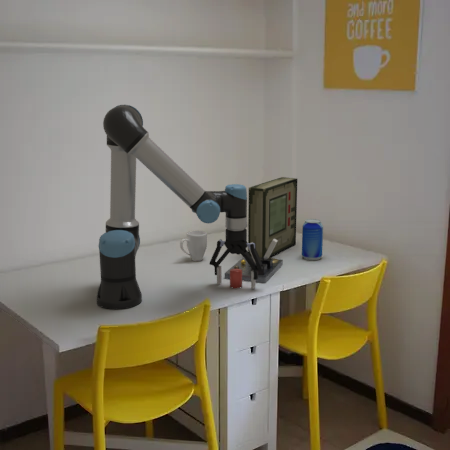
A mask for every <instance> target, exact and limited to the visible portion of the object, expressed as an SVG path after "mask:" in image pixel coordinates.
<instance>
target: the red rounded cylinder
mask: <svg viewBox="0 0 450 450" xmlns="http://www.w3.org/2000/svg"><path fill="white" fill-rule="evenodd" d="M229 287H230V288H231V287H233V288H232V289H241V288H243V280H242V270H241V269H231V270H230V279H229ZM240 287H241V288H240Z"/></svg>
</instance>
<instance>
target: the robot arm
mask: <svg viewBox="0 0 450 450" xmlns="http://www.w3.org/2000/svg"><path fill="white" fill-rule="evenodd" d="M102 125H103V127H102V128H103V130H104V133H105V135H106V146H107V147H108V148H109V149H110V194H109V195H110V200H109V201H110V202H109V205H110V207H109V214H110V215H109V218H108V219H107V221H105V232H104V233H103V234H102V235H100V236H99V239H98V251H99V267H100V269H99V270H100V283H99V286H98V288H97V289H98V290H97V292H96V304H97V306H98V307H101V308H103V309H107V310H108V309H109V310H123V309H124V310H125V309H129V308H133V307H136V306H138V305H139V304H141V303H142V302H143V297H142V296H143V294H142V291H141V289H140V286H139V283H138V280H137V274H136V272H137V271H136V267H137V266H136V256H137V252H138V250H139V248H140V246H141V237H140V222H139V221H138V220H137V218H136V193H137V192H136V184H137V183H136V182H137V181H136V180H137V179H136V178H137V160H138V161H139V162H140V163H141V164H142V165H144V167H146V169H148V170H149V171H150V173H152V174H153V175H154V176H155V177H157V178H158V180H160V182H162V183H163V184H164V185H165V186H166V187H167V189H169V190H170V191H171V192H173V193H174V194H175V196H177V197H178V198H179V199H180V200H181V201H182V202H183V203H184V204H185V205H186V206H187V207H189V208H190V210H191V212H192V213H194V214H195V215H196V216H197V218H198V219H199V220H200V222H202V223H204V224H213V223H215V222H216V221H217V220H218V219H219V218H220V213H225V228H226V229H225V240H223V239H221V238H220V239H219V240H217V242H216V247H215V250H214V252H213V253H212V256H211V259H210V261H209V265H210V266H211V265H212V266H213V267H214V276H216V285H217V286H219V285H221V284H222V280H223V279H222V265H221V264H222V262H223V261H224V260H225V259H226V257H227V256H228V255H229V254H232V255H234V254H236V255H241V257H242V258H243V257H244V258H245V259H246V261H247V262H248V264H249V265H250V266H251V268H252V269H253V270H252V271H251V281H250V289H251V290H254V289H255V288H256V284H257V282H256V280H257V279H258V270H261V269H262V268H263V264H262V262H261V260H260V257H259V255H258V253H257V250H256V244H255V243H254V242H253V243H248V238H247V237H248V233H247V232H248V229H247V228H248V227H247V225H248V224H247V223H248V222H247V221H248V215H247V214H248V212H247V211H248V209H247V208H248V194H247V190H248V189H247V187H246V186H245V185H244V184H241V183H239V184H237V183H232V184H227V185H226V186H225V189H224V190H205V189H204V188H203V187H202V186H200V185H199V184H198V182H196V181H195V180H194V179H193V178H192V177H191V176H190V175H189V174H188V173H187V172H186V171H185V170H184V169H183V168H181V167H180V165H178V164H177V162H175V161H174V160H173V159H172V158H171V157H170V156H169V155H168V154H167V153H166V152H165V151H164V150H163V149H162V148H161V147H160V146H159V145H158V144H156V143H155V141H153V140H152V138H150V137H149V136H150V135H149V131H147V129H146V128H144V127H143V126H144V120H143V117H142V113H141V112H140V111H139V110H138V109H137V108H136V107H135V106H132V105H130V104H118V105H117V106H115V107H113V108H111V109H109V110H108V111H107V113H106V114H105V116H104V117H103V122H102ZM223 246H225V247H226V250H225V251H224V252H223V254H221V256H220V257H219V259H217V258H218V256H219V254H220V252H221V250H222V247H223ZM248 247H249V249H250V250H251V253H252V256H253V258H254V260H255V262H254V260H253V259H252V258H251V256H250V255H249V254H248ZM216 260H217V261H216Z"/></svg>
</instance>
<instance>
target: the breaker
mask: <svg viewBox="0 0 450 450" xmlns="http://www.w3.org/2000/svg"><path fill="white" fill-rule="evenodd" d="M277 241H278V240H276V239H273V240H272V242H271V244H270V246H269V248H268V250H267V252H266V254H265V256H264V259H265V260H267V259H268V258H269V257H270V255H271V253H272V251H273V249H274V247H275V245H276V243H277Z"/></svg>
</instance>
